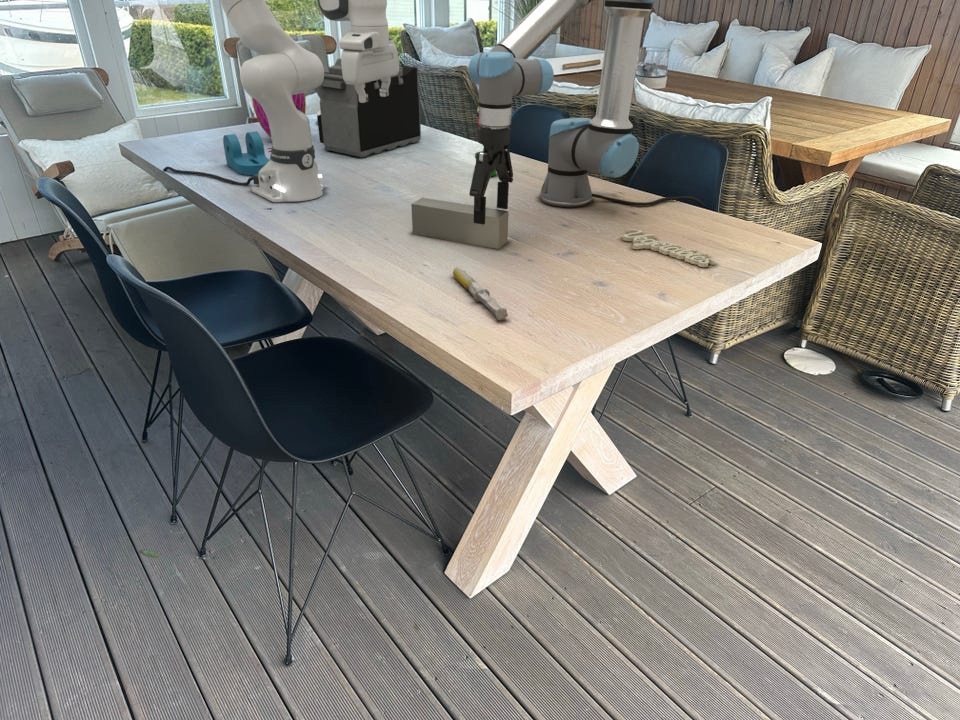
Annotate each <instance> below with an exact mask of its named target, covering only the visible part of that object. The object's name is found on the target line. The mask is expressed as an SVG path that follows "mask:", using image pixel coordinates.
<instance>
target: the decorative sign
mask: <svg viewBox="0 0 960 720" xmlns="http://www.w3.org/2000/svg"><path fill="white" fill-rule="evenodd" d="M622 240H623V241H624V242H625V241H626V242H632V249H633V250H643V249H646V250H647V249H648V250H649V249H650V250H651V251H655V252H658V253H660V254H663V255H665V256H667V255H668V256H669V257H672V258H675V259H676V260H677V259H678V260H684V262H686V263H690V264H692V265H697V266H698V267H700V268H708V267H709V264H710V265H711V266H713V265H714V264H715V259H713V258H710V257H708V255H709V253H708V252H705V251H704V252H698V249H697V248H690V249H689V248H688V249H683V248H682V245H679V244H678V243H672V242H669V241H667V242H660V241H659V240H656V239H655V234H654V233H647V234H646V233H645V234H643V230H640V229H636V228H629V230H628V233H625V234H623V237H622Z"/></svg>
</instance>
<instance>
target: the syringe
mask: <svg viewBox="0 0 960 720" xmlns="http://www.w3.org/2000/svg"><path fill="white" fill-rule="evenodd" d="M452 274H453V277H454V279H455V280H457V281H458V282H459V283H460V285H462V287H464V289H466V290H467V291H468V293H470V295H471V296H472V298H473V300H474V302H477V303H478V302H480V303H482V304H483V305H484V306H485V307H486V308H487V309H488V310H489V311H490V312H491V313H492V314H493V315H494V316H495V317H496V320H497V321H503V320H504V319H506V318H507V317H509V314H508V310H507V308H506V307H502V306H501V305H500V303H498V302H497V301H496V300H494V299H493V298H492V297H491V296H490V295H491V293H490V290H488V289H486V288H483V287H482V286H481V285H480V284H479V283H478V282H477V281H476V280H474V278H473V277H471V275H469V274H468V273H467V272H466V270H465V269H464V268H463V267H462V266H456V267H454V268H453V271H452Z"/></svg>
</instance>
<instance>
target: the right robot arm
mask: <svg viewBox="0 0 960 720" xmlns="http://www.w3.org/2000/svg"><path fill="white" fill-rule="evenodd" d="M594 1H595V0H540V1H539V2H538V3H537V4H536V5H535V6H534V7H533V8H532V9H531V10H530V11H529V12H528V13H527V14H526V15H525V16H524V17H523V18H522V19H521V20H520V21H519V22H518V23H517V24H516V25H514V27H513V28H512V29H511V30H509V32H507V34H506V35H504V36H503V37H502V39H500V41H498V43H496V44H495V45H494V46H493V47H492V48H491V49H490V50H489V51H483V52H477V53H475V54H474V55H473V56H472V57H471V59H470V60H469V63H468V75H469V78H470V80H471V81H472V82H473V84H475V85H478V106H479V109H478V108H477V109H478V110H477V109H476V113H477V112H478V113H479V114H478V113H477V114H478V116H477V118H478V122H477V124H478V123H479V124H480V126H479V124H478V127H477V143H478V144H479V145H482V146H483V149H482V151H483V152H481V151H477V152H476V153H477V154H476V158H475V165H474V169H473V175H472V179H471V183H470V189H469V196H470V197H473V206H474V223H477V224H482V225H484V224H485V213H486V208H487V196H485V194H486V192H487V188H488V186H489V181H490V180H491V177H492V176H491V173H492V172H493V171H494V170H495V169H496V175H497V178H498V179H499V181H497V188H496V189H497V190H496V191H497V192H496V209H500V210H508V209H509V189H510V183H513V182H514V171H513V165H512V158H511V153H510V148H511V147H510V143H511V127H510V126H511V124H512V109H513V107H512V105H513V98H514V97H524V96H532V95H534V96H537V95H540V94H545V93H547V92H548V91H550V89H551V88H552V86H553V84H554V78H555V72H554V69H553V66H552V64H551V63H550V62H549V61H548V60H546V59H543V58H540V59H539V58H533V59H529V58H530V57H531V55H532V54H534V53H535V52H536V51H537V50H538V49H539V48H540V46H542V44H544V43H545V42H546V40H547V39H549V37H551V36H552V35H553V34H554V33H555V32H556V31H557V30H558V29H559V27H561V26H562V25H563V23H565V22H566V21H567V20H568V19H569V17H571V16H572V15H573V14H574V13H575V12H576V11H577V10H583V9H584V8H586V7H587V6H588V5H589V4H590V3H591V2H594ZM657 1H658V0H604V5H603V8H604V10H605V11H606V13H608V21H607V28H606V36H605V45H604V51H603V52H604V53H603V60H602V67H601V74H600V81H599V90H598V97H597V104H596V110H595V111H596V112H595V115H594V117H593V118H589V117H570V118H568V117H567V118H562V119H556V120H554V121H553V122H552V123H551V125H550V129H549V130H550V131H549V135H548V156H547V158H548V159H547V173H546V176H545V178H544V181H543V184H542V187H541V189H540V192H539V200H540V202H542V203H543V204H546V205H549V206H553V207H558V208H559V207H560V208H580V207H584V206H588V205H589V204H591V203H592V199H593V198H597V199H601V200H605V201H609V202H613V203H617V204H618V203H619V204H623V205H627V206H628V205H629V206H637V207H648V206H653V205H657V204H659V203H662V202H665V201H681V200H683V201H684V200H689V201H693V202H695V203H697V204H698V205H699V206H704V203H703V202H702V201H701V200H700V199H698V198H697V197H695V196H689V195H683V196H682V195H681V196H665V197H661V198H657V199H656V200H652V201H645V202H644V201H643V202H642V201H641V202H640V201H630V200H629V201H628V200H623V199H619V198H615V197H609V196H606V195H602V194H597V193H594V192H592V188H591V184H590V179H589V172H590V173H594V174H597V175H600V176H603V177H609V178H614V179H615V178H616V179H617V178H620V177H622V176H624V175H626V174H627V173H628V172H629V171H630V169H632V167H633V166H634V164H635V162H636V160H637V159H638V155H639V150H640V143H639V142H638V138H637V137H636V136H635V135H633V129H634V125H633V123H632V122H631V121H630V119H629V117H630V111H631V105H632V97H633V92H634V84H635V80H636V79H635V77H636V71H637V66H638V59H639V53H640V48H641V47H640V46H641V40H642V33H643V27H644V21H645V18H646V16H648V15H649V14H650V13H651V12H652V9H653V3H655V2H657Z"/></svg>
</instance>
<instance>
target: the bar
mask: <svg viewBox="0 0 960 720" xmlns="http://www.w3.org/2000/svg"><path fill="white" fill-rule="evenodd" d="M410 206H411V229H412V231H411V232H412V234H413V235H417V236H424V237H428V238H433V239H439V240H443V241H450V242H455V243H461V244H467V245H472V246H478V247H484V248H489V249H495V250H499V249H501V248H502V247H503V246H505V245H506V244H507V243H508V241H509V216H510V215H509V210H506V209H500V208H491V207H486V213H485V224H484V225H482V224H477V223H474V204H468V203H467V204H466V203H461V202H453V201H447V200H442V199H441V200H440V199H434V198H430V197H429V198H428V197H421V198H419V199H416V201H414V202H411V205H410Z"/></svg>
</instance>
